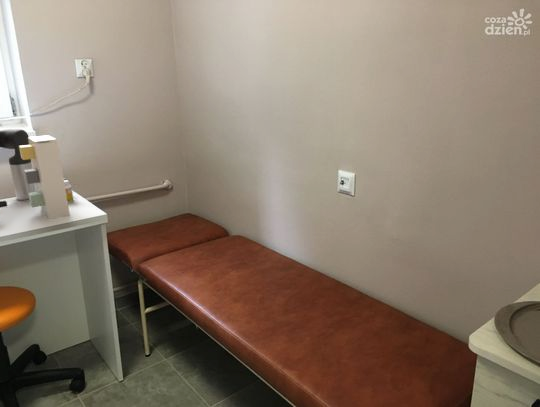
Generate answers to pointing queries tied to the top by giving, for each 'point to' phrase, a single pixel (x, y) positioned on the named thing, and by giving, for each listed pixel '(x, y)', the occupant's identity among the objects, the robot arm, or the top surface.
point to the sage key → (36, 199)
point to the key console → (50, 176)
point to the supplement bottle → (68, 191)
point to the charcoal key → (32, 176)
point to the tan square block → (27, 152)
